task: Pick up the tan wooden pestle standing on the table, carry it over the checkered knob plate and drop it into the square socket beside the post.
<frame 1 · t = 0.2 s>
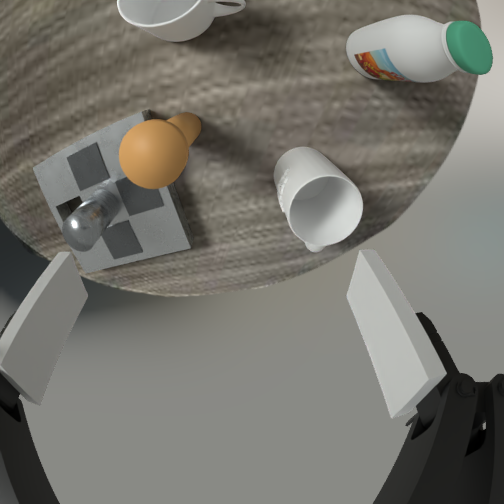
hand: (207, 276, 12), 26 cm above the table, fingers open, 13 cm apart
tan wooden pestle: (186, 127, 32), on the table
milk bottle: (370, 53, 26), on the table
mug 2: (301, 187, 38), on the table
mug: (196, 14, 23), on the table
checkered knob plate: (111, 196, 36), on the table
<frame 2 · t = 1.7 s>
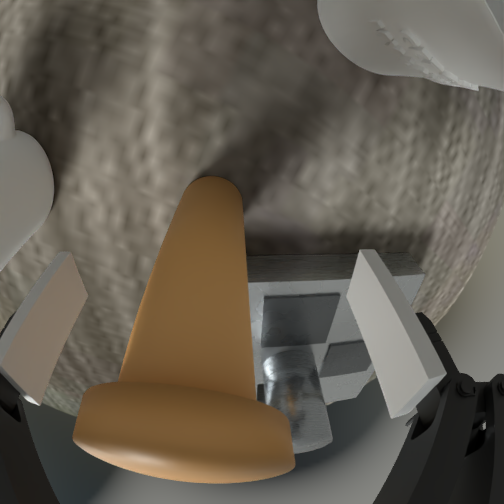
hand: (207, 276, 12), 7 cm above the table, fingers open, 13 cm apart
tan wooden pestle: (211, 205, 18), on the table
mug 2: (400, 33, 11), on the table
mug: (21, 158, 14), on the table
checkered knob plate: (284, 340, 26), on the table
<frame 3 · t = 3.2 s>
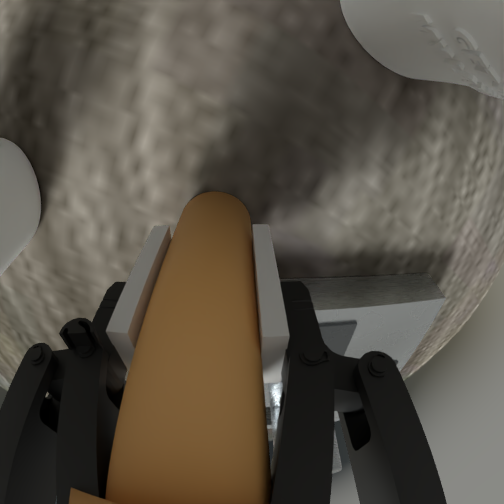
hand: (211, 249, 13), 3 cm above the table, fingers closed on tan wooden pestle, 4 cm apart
tan wooden pestle: (215, 224, 16), on the table, touching gripper
mug 2: (428, 33, 9), on the table
mug: (7, 168, 12), on the table
checkered knob plate: (292, 362, 24), on the table
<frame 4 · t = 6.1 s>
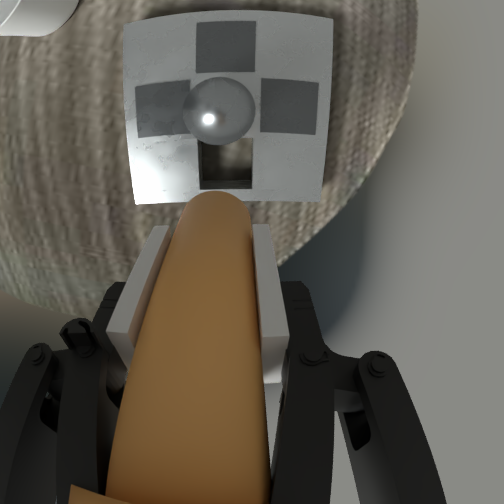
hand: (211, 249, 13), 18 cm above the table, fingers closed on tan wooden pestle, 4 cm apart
tan wooden pestle: (215, 223, 16), point 16 cm above the table, touching gripper
checkered knob plate: (226, 103, 25), on the table
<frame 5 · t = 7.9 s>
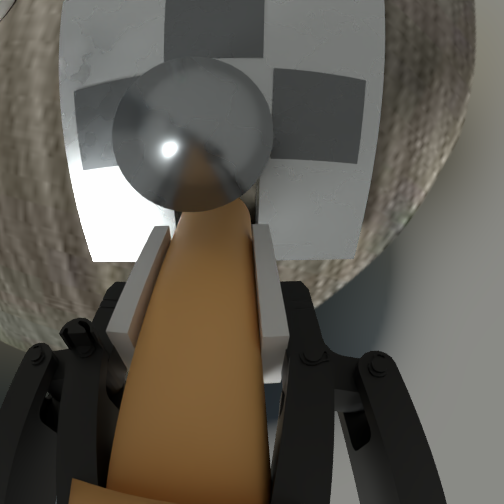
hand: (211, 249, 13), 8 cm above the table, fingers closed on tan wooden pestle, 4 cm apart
tan wooden pestle: (215, 222, 16), point 5 cm above the table, touching gripper
checkered knob plate: (216, 109, 16), on the table
when the fingers open (5 cm above the table, at t = 9.2 s): tan wooden pestle drops 2 cm, resting in checkered knob plate.
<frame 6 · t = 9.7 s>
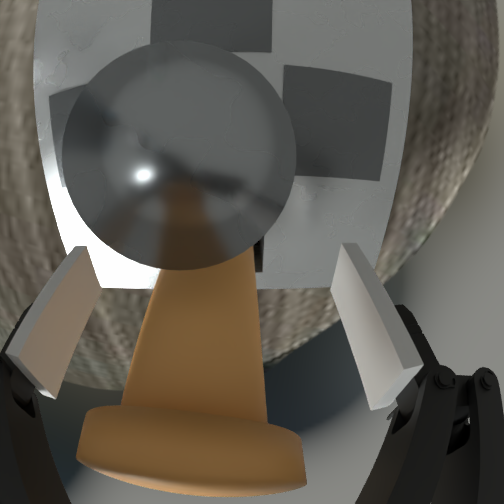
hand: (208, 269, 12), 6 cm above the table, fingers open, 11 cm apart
tan wooden pestle: (218, 208, 17), resting in checkered knob plate
checkered knob plate: (215, 114, 14), on the table
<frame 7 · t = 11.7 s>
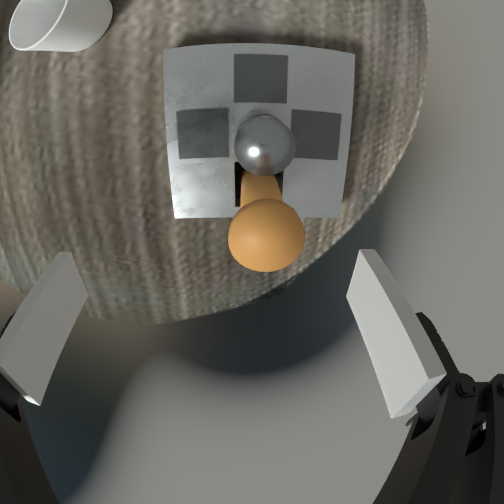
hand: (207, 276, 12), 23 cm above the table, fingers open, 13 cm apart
tan wooden pestle: (257, 176, 33), resting in checkered knob plate
mug: (91, 12, 19), on the table
checkered knob plate: (258, 128, 29), on the table
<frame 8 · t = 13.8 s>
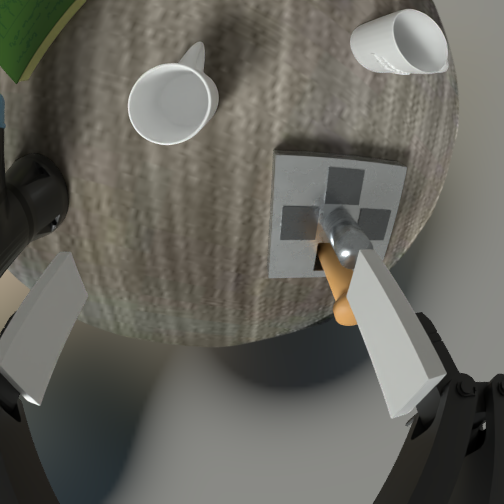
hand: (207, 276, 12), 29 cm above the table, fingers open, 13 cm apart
tan wooden pestle: (326, 246, 46), resting in checkered knob plate
mug 2: (385, 53, 28), on the table
hardcover book: (30, 8, 17), on the table
mug: (192, 88, 31), on the table
checkered knob plate: (332, 215, 42), on the table
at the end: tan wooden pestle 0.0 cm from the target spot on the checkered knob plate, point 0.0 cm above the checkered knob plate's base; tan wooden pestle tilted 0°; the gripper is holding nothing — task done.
